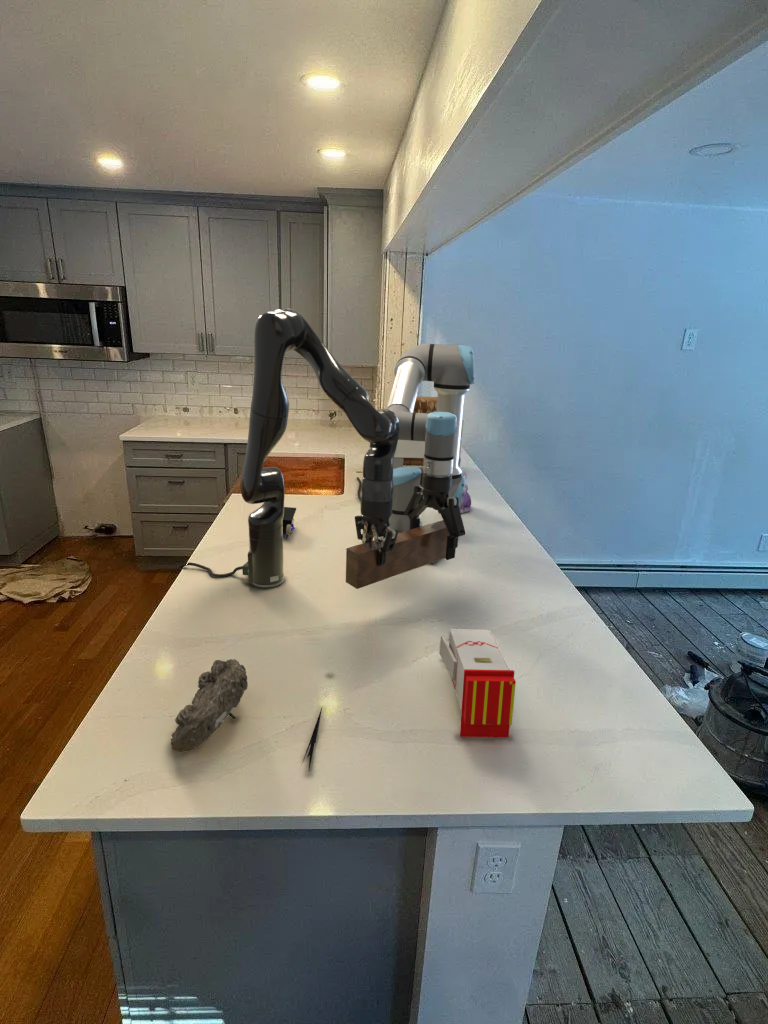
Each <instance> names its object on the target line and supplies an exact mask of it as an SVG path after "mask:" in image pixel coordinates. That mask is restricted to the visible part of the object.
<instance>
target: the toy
mask: <svg viewBox="0 0 768 1024" xmlns="http://www.w3.org/2000/svg"><path fill="white" fill-rule="evenodd" d="M438 654H439V656H440V658H441V660H442V662H443V665H444V666H445V668H446V671H447V673H448V675H449V677H450V681H451V683H452V685H453V689H454V690H455V695H456V698H457V702H458V705H459V708H460V726H459V737H460V738H509V737H510V728H511V727H510V726H512V725H513V717H514V706H515V705H514V704H515V693H516V684H517V683H516V679H515V670H514V669H510V667H509V666H508V663H507V662H506V660H505V658H504V655H503V654H502V652H501V650H500V648H499V644H498V642H497V638H496V635H495V634H492V632H491V631H490V629H467V628H466V629H465V628H463V629H461V628H460V629H459V628H450V629H449V631H448V641H447V639H446V638H445V636H444V634H443V635H442V634H441V635H440V641H439V651H438Z"/></svg>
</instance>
